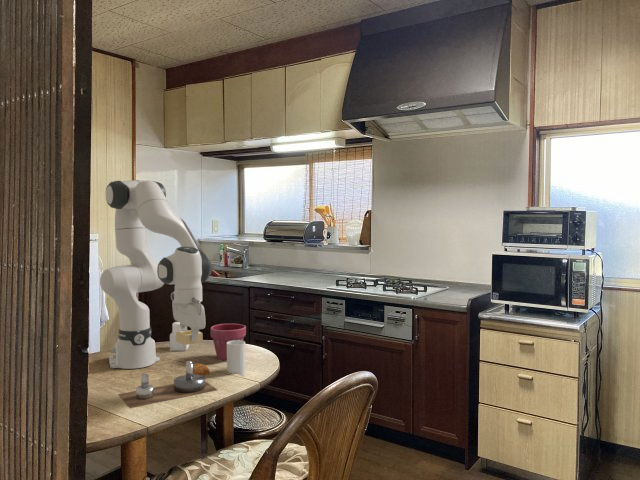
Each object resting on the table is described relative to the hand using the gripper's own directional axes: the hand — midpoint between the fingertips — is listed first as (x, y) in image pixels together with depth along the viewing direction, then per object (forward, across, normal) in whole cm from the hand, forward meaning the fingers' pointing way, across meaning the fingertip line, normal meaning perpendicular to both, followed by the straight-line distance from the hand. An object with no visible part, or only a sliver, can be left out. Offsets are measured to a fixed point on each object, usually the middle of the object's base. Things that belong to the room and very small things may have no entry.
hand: (189, 338), depth 170 cm
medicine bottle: (+18, +55, -16) cm, 60 cm away
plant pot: (+18, +31, -28) cm, 45 cm away
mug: (+18, +10, -22) cm, 30 cm away
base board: (+18, 0, +7) cm, 20 cm away
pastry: (+18, +16, -10) cm, 26 cm away
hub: (+17, 0, 0) cm, 17 cm away
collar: (+1, 0, 0) cm, 1 cm away
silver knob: (+17, 0, +15) cm, 22 cm away
